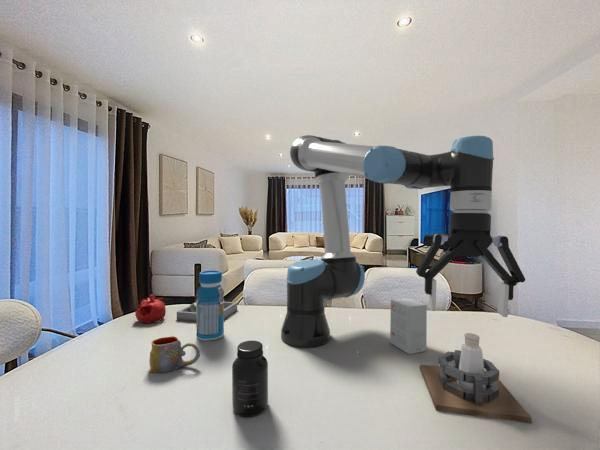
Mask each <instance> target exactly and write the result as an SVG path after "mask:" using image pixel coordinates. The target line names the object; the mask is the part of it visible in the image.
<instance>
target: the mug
mask: <svg viewBox="0 0 600 450" xmlns="http://www.w3.org/2000/svg"><path fill="white" fill-rule="evenodd" d="M150 342H151V349H150V351H149V360H148V361H149V367H150V369H149V370H148V372H149V373H157V374H158V373H159V374H161V373H167V372H171V371H174V370H176V369H179V368H184V367H188V366H190V365H193V364H195V363H196V362H197V361H198V360H199V359H200V356H201V352H200V351H201V350H200V347H198V345H196V344H195V343H193V342H187V343H185V344H183V345H182V343H181V341H180V339H179V338H178V337H177V336H173V335H171V336H165V337H160V338H157V339H156V338H155V339H154V340H152V341H150ZM187 347H192V348H193V349H194V350H195V356H194V357H193V359H191V360H184V359H183V357H185V356H186V354H187V353H186V351H185V350H184V349H185V348H187Z"/></svg>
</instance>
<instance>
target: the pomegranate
mask: <svg viewBox="0 0 600 450" xmlns="http://www.w3.org/2000/svg"><path fill="white" fill-rule="evenodd" d="M163 299H164V298H163V297H159V298H156V299H155V296H154V295H153V294H150V295H149V297H146V298H145V299H143V300H142V299H141V300H139V302H140V303H139V305H138V306H137V309H136V311H135V318H136V320H137V321H138V322H139V323H143V324H153V323H157V322H159V321H162V320H163V319H164V318H165V317H166V313H167V311H166V304H165V303H164V302H163V301H162V300H163Z"/></svg>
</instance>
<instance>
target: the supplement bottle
mask: <svg viewBox="0 0 600 450" xmlns="http://www.w3.org/2000/svg"><path fill="white" fill-rule="evenodd" d="M236 347H237V353H236V358H235V360H233V363H232V366H231V375H232V377H231V379H232V380H231V385H232V386H231V387H232V388H231V389H232V393H231V396H232V397H231V398H232V399H231V401H232V410H233V411H234V413H235V414H236V415H238V416H239V417H242V418H252V417H256V416H259V415H261V414H262V413H264V411H266V409H267V407H268V404H269V403H268V402H269V366H268V365H269V363H268V360H267V358H266V357H265V356H264V350H263V347H264V346H263V343H262V342H261V341H258V340H246V341H242V342H240V343H239V344H238V345H237V346H236Z"/></svg>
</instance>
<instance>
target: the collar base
mask: <svg viewBox="0 0 600 450" xmlns="http://www.w3.org/2000/svg"><path fill="white" fill-rule="evenodd" d="M419 370H420V373H421V375H422V378H423V380H424V383H425V387H426V388H427V392H428V394H429V397H430V399H431V400H432V404H433V407H434V409H435V411H441V412H449V413H454V414H455V413H457V414H462V415H463V414H464V415H469V416H470V415H471V416H475V417H476V416H478V417H484V418H485V417H486V418H491V419H499V420H504V421H505V420H506V421H507V420H508V421H513V422H521V423H529V424H532V422H533V417H532V416H531V415H530V414H529V412H528V411H527V410H526V409H525V408H524V407H523V406H522V404H521V403H520V402H519V401H518V400H517V399H516V397H515V396H514V395H513V394H512V393H511V391H509V389H508V388H507V387H506V386H505V385H504V384H503V383H502V381H501V380H500V378H499V379H498V380H497V381H495V382H494V383H495V384H496V385H497V387H498V388H499V397H497V398H496V399H494V400H493V401H491V402H490V403H482V406H478V405H475V404H474V402H473V401H467V400H465V399H461V398H459V397H457V396H455V395H453V394H451V393H450V392H448V391H446V390H444V389H443V388H442V386H441V383H440V381H439V379H438V372H439V371H440V370H442V369H441V367H440V365H432V364H431V365H429V364H422V363H421V364H419ZM484 373H487V371H486V370H484ZM448 381H449V382H451V383H453V384H455V385H457V386H459V385H458V382H457V379H456V378H454V377H452V376H451V377H450V378H448ZM486 390H487V387H486Z"/></svg>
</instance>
